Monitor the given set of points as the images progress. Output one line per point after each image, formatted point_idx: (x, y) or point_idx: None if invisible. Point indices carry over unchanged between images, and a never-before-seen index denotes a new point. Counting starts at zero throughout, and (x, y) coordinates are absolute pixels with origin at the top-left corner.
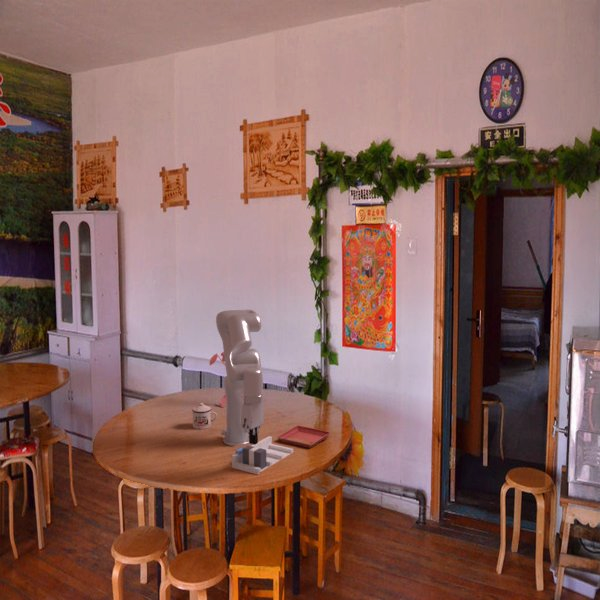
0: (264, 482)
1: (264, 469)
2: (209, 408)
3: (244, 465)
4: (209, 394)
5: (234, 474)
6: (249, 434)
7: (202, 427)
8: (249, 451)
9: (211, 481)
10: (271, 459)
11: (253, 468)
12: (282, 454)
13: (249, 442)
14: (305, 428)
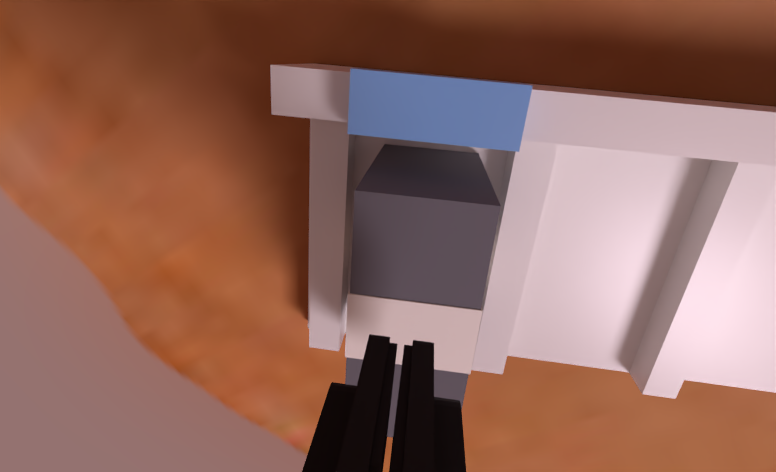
0: (238, 397)
1: None
2: None
3: (314, 212)
4: None
5: (217, 166)
6: (340, 466)
7: None
8: (352, 292)
9: (6, 67)
10: (605, 308)
11: (310, 301)
12: (751, 344)
13: (368, 342)
14: None
